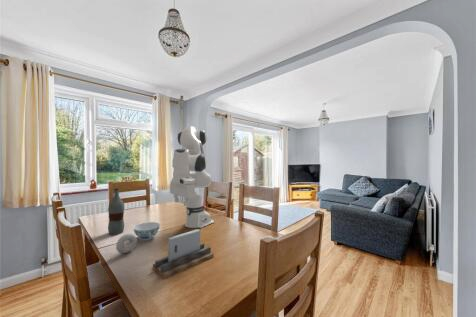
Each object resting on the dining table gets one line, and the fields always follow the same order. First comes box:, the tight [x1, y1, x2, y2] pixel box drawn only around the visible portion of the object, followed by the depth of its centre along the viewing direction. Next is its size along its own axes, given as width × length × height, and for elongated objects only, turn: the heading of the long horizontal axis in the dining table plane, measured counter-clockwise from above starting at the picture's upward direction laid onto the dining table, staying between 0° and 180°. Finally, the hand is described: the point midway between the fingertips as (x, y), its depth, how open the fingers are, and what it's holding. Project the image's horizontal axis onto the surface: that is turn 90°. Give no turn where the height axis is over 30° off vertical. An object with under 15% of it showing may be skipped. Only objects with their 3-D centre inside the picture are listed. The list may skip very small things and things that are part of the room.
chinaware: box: [133, 221, 161, 241], centre depth 123 cm, size 15×15×8 cm
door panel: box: [167, 228, 201, 262], centre depth 95 cm, size 16×3×12 cm, turn 136°
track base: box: [152, 242, 214, 279], centre depth 95 cm, size 26×12×4 cm, turn 136°
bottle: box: [107, 187, 125, 236], centre depth 132 cm, size 9×9×30 cm
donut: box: [115, 233, 138, 255], centre depth 104 cm, size 10×4×10 cm, turn 142°
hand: (181, 203), depth 107 cm, fingers open, 8 cm apart
